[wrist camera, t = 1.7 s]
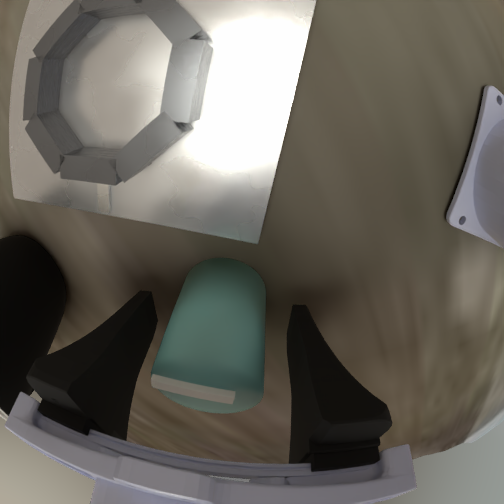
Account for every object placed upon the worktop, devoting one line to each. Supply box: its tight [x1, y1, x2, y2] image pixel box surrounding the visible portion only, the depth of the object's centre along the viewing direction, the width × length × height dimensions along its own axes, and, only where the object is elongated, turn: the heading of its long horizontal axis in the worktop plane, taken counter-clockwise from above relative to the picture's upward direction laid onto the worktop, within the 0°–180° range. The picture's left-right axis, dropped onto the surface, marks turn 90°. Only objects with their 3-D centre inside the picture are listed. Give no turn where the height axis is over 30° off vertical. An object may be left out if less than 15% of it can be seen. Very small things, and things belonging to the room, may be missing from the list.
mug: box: [0, 235, 66, 421], centre depth 11 cm, size 12×9×10 cm
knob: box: [151, 258, 266, 413], centre depth 12 cm, size 4×4×6 cm
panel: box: [9, 0, 316, 244], centre depth 7 cm, size 14×14×3 cm
